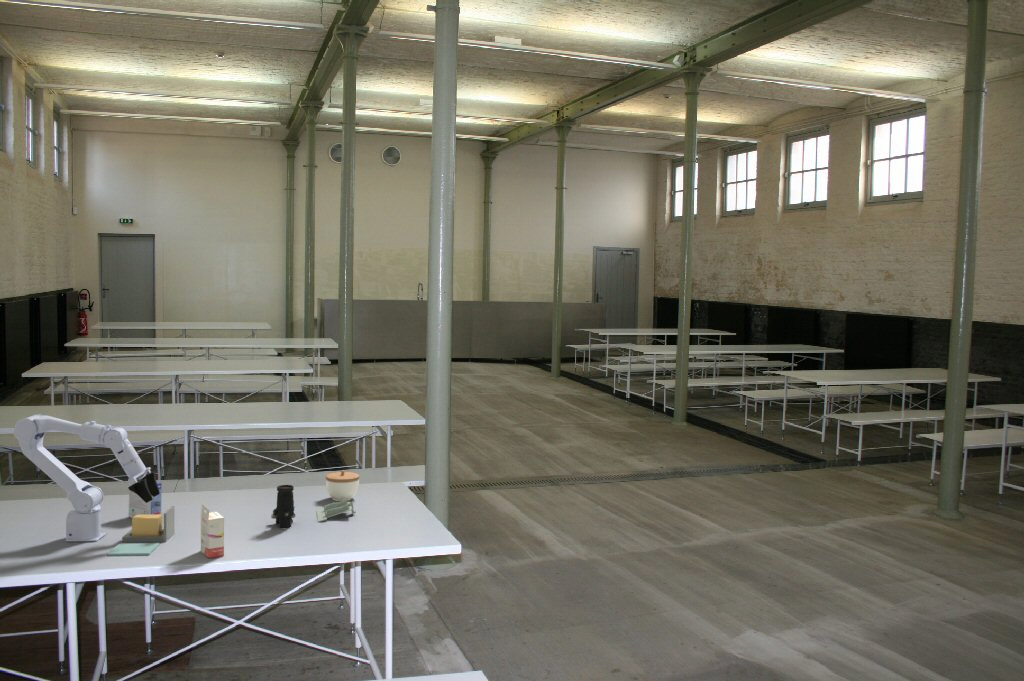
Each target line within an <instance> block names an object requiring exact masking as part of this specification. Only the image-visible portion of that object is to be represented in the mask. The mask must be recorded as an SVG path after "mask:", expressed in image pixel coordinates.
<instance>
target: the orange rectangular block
mask: <svg viewBox="0 0 1024 681" xmlns="http://www.w3.org/2000/svg"><path fill="white" fill-rule="evenodd" d="M131 529H132V536H160V535H161V534H162V533H163V529H164V513H161V514H154V515H136V516H134V517H133V518H131Z"/></svg>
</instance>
